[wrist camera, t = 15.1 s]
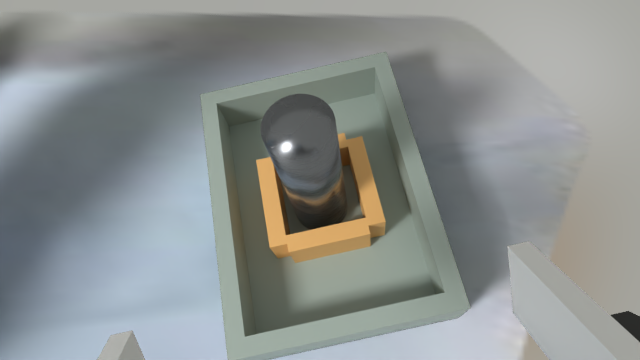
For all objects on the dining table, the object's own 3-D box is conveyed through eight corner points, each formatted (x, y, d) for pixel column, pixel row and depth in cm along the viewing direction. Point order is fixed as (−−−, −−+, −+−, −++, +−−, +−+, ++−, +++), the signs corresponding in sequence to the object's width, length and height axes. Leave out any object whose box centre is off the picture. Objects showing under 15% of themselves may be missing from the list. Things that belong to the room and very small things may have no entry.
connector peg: (300, 236, 34) (266, 167, 23) (291, 188, 36) (255, 102, 25) (352, 225, 34) (343, 149, 23) (341, 177, 36) (327, 86, 25)
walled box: (246, 364, 32) (227, 361, 28) (217, 123, 40) (200, 94, 36) (458, 317, 32) (470, 307, 28) (384, 85, 40) (386, 51, 36)
